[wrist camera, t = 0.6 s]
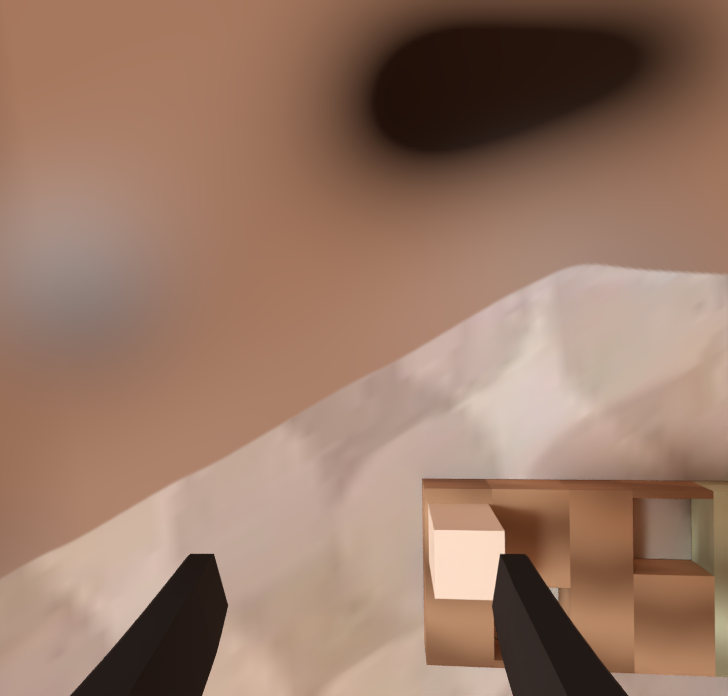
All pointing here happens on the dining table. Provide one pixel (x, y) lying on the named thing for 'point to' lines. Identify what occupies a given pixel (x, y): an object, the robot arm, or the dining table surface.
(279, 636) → the dining table surface
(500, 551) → the block
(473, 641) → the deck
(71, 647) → the dining table surface
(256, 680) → the dining table surface
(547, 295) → the dining table surface
